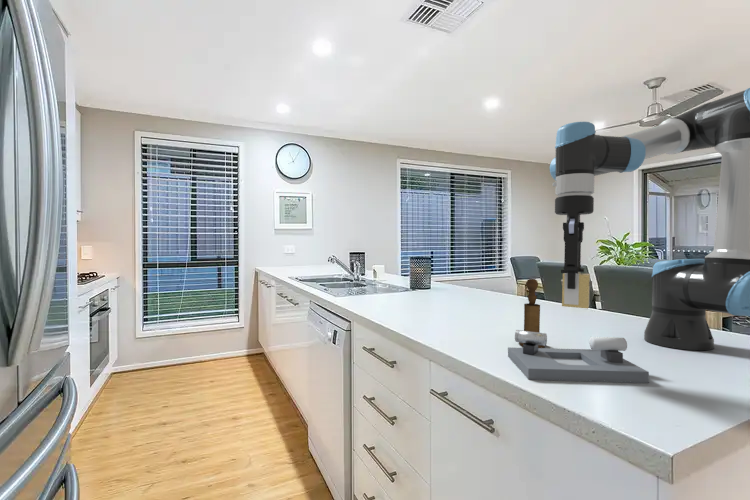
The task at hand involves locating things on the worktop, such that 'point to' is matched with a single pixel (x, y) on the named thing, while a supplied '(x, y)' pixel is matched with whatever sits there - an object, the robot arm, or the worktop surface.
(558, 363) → the grey frame with rollers
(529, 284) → the brown tall knobbed post
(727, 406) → the worktop surface
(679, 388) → the worktop surface
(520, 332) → the shaft
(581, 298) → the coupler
